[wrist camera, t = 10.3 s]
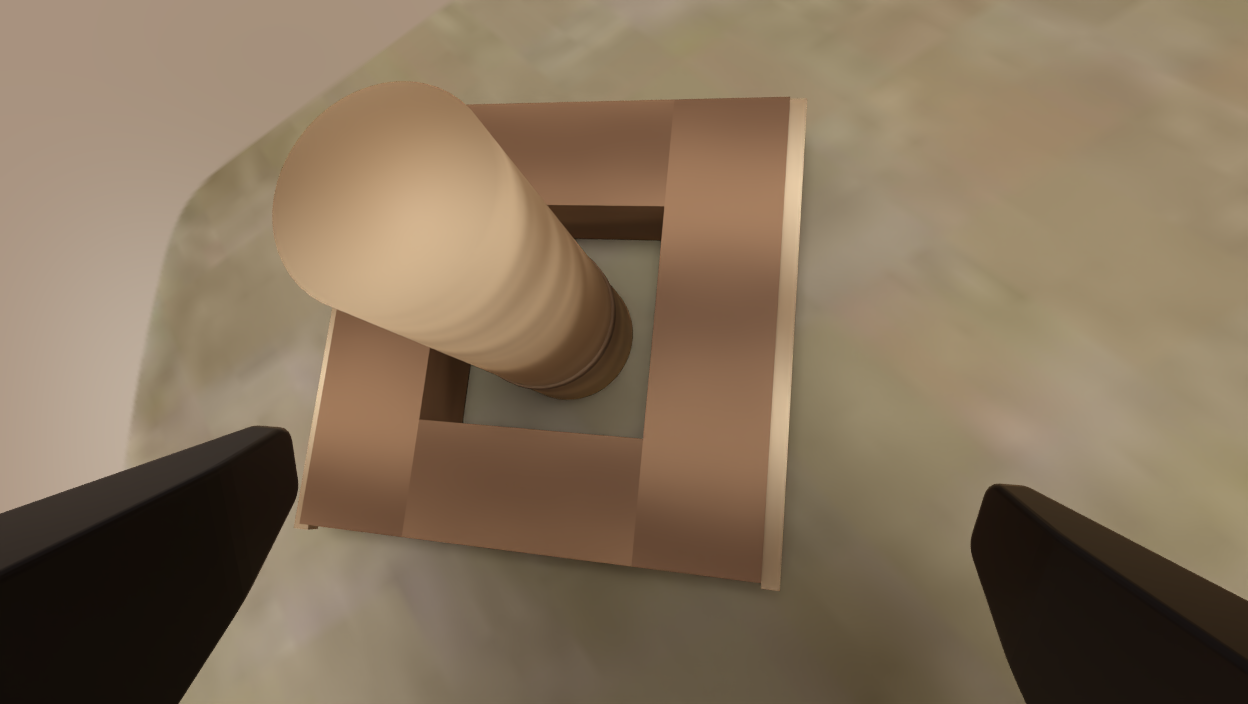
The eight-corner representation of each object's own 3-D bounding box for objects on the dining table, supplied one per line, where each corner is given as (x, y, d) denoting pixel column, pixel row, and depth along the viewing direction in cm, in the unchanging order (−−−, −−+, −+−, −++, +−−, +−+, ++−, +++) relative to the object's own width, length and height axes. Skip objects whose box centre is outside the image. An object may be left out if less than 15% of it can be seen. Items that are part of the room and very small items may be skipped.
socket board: (778, 579, 21) (779, 593, 18) (342, 523, 24) (284, 528, 21) (803, 139, 23) (807, 90, 21) (404, 143, 27) (360, 101, 24)
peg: (651, 374, 23) (530, 258, 11) (528, 419, 24) (295, 353, 12) (610, 254, 24) (462, 40, 13) (494, 300, 25) (250, 136, 13)
